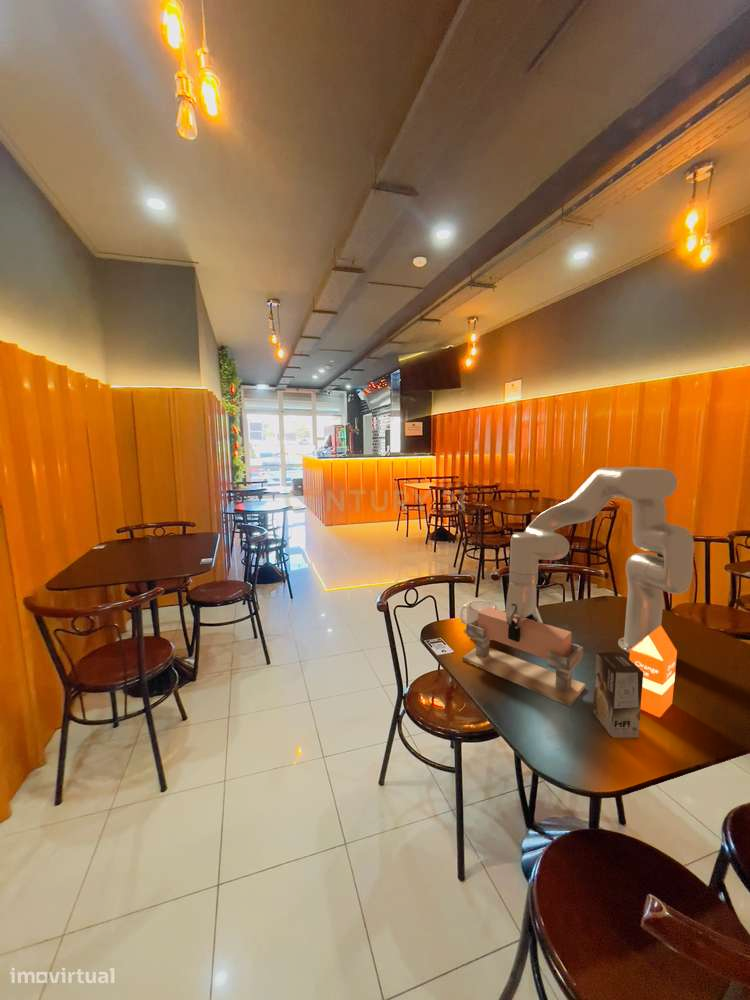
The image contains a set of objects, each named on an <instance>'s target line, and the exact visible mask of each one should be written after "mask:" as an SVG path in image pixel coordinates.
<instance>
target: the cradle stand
mask: <svg viewBox="0 0 750 1000" xmlns="http://www.w3.org/2000/svg"><path fill="white" fill-rule="evenodd" d="M484 631H485V629H483V628H480V627H478V618H476V619H474V620H473V621H471V622H469V623H468V624H467V627H466V626H465V634H466V633H467V635H466V637H468V638H469V637H471V638H474V639H476V640H475V648H473V649H471V651H469V652H468V653H466V654H465V655H463V656H462V661H463V662H465V661H466V662H465V663H467V662H468V664H469V665H472V664H473V665H472V666H474V665H475V667H477V668H479V667H480V668H479V669H481V668H482V670H484V671H486V672H489V673H491V674H493V675H494V676H498V677H500V678H503V679H504V680H508V682H509V681H510V682H512V683H514V684H517V685H518V686H521V687H523V688H525V689H528V690H530V691H533V692H535V693H537V694H540V695H542V696H545V697H547V698H549V699H552V700H554V701H557V702H558V703H561V704H563V705H566V706H568V707H571V706H572V705H573V703H574V702H575V701H576V699H577V698H579V696H580V695H581V694H582V692H583V691H584V689H585V687H586V683H584V682H581V681H579V680H577V679H573V678H572V677H573V670H574V669H575V667H577V665H578V664H579V663H580V662H581V661H582V658H583V657H584V656H583V655H584V646H581V645H579V644H576V643H572V642H571V651H570V657H569V658H566V657H563V656H561V655H558V654H555V653H552V652H548V654H547V659H546V666H547V667H548V668H551V669H554V670H555V671H554V670H553V671H552V670H550V669H548V668H544V667H542V666H539V665H537V664H534V663H532V662H530V661H529V662H528V661H526V660H523V659H521V658H518V657H516V656H513V655H510V654H508V653H505V652H502V651H500V650H497V649H495V648H492V647H490V645H491V644H490V642H491V641H490V638H487V637H484ZM471 638H470V639H471Z"/></svg>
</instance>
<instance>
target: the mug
mask: <svg viewBox="0 0 750 1000" xmlns="http://www.w3.org/2000/svg"><path fill="white" fill-rule="evenodd" d="M487 607H491V608H494V609H497V608H498V607H497V605H496V604H495V603H494V602H491V601H487V600H482V599H479V600H478V599H475V600H470V601H468V602H467V603H465V604H463V605H462V606H461V608H460V610H459V611H460V613H459V616H460V617H459V618H460V620H461V624H464V625H465V628H466V627H467V624H468V623H469V622H471V621H473V620H474V619H476V618H478V612H480V611H482V610H483V609H485V608H487ZM465 613H466V615H465ZM465 634H467V633H466V632H465ZM469 639H471V637H470V638H469ZM473 639H474V638H472V639H471V640H473ZM490 640H491V641H493V640H492V639H490ZM474 641H476V639H475V640H474Z"/></svg>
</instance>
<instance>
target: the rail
mask: <svg viewBox="0 0 750 1000" xmlns="http://www.w3.org/2000/svg"><path fill="white" fill-rule="evenodd" d="M506 616H507V615H506V611H503V610H500V609H497V608H496V609H494V608H491V607H487V608H485V609H483V610H482V611H480V612H478V627H480V628H483V629H485V631H484V637H487V638H490V639H492V640H491V641H496V642H498V643H500V644H503V645H506V646H509V647H512V648H515V649H518V650H520V651H523V652H525V653H528V654H532V655H535V656H538V657H540V658H543V659H545V660H547V654H548V652H552V653H555V654H558V655H561V656H563V657H566V658H569V657H570V651H571V643H572V631H570V630H566V629H564V628H561V627H557V626H553V625H550V624H547V623H544V622H543V623H541V622H538V620H536V621H535V619H534V620H531V619H527V618H524V619H522V620H521V622H520V625H519V628H520V641H519V642H516V641H513V640H511V639H509V638H508V627H509V626H508V623H507V619H506ZM514 616H517V617H519V615H516V614H514ZM513 621H515V622H517V619H514V618H513Z"/></svg>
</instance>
